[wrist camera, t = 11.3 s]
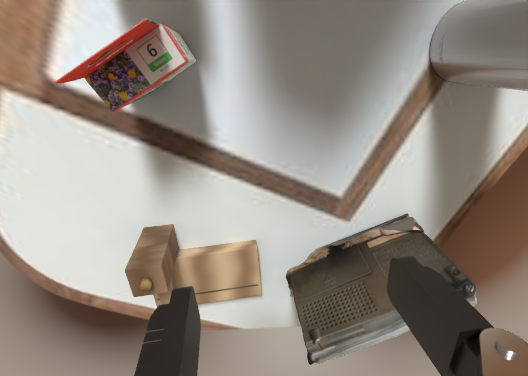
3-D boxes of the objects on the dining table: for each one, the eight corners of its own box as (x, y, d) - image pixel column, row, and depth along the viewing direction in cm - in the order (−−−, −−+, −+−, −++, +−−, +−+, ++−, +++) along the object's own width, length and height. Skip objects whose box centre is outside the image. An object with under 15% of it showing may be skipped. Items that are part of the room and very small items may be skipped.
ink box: (197, 61, 33) (182, 66, 20) (141, 99, 34) (90, 127, 21) (177, 30, 32) (146, 12, 19) (119, 70, 33) (49, 81, 20)
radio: (286, 297, 50) (310, 386, 37) (270, 260, 46) (290, 344, 33) (416, 251, 50) (488, 324, 36) (410, 209, 46) (488, 274, 32)
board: (255, 240, 44) (257, 248, 42) (260, 285, 48) (261, 294, 46) (147, 254, 43) (143, 263, 41) (160, 300, 47) (158, 310, 45)
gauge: (173, 224, 41) (159, 270, 33) (188, 288, 46) (179, 343, 38) (144, 227, 41) (122, 275, 32) (162, 292, 46) (148, 348, 37)
